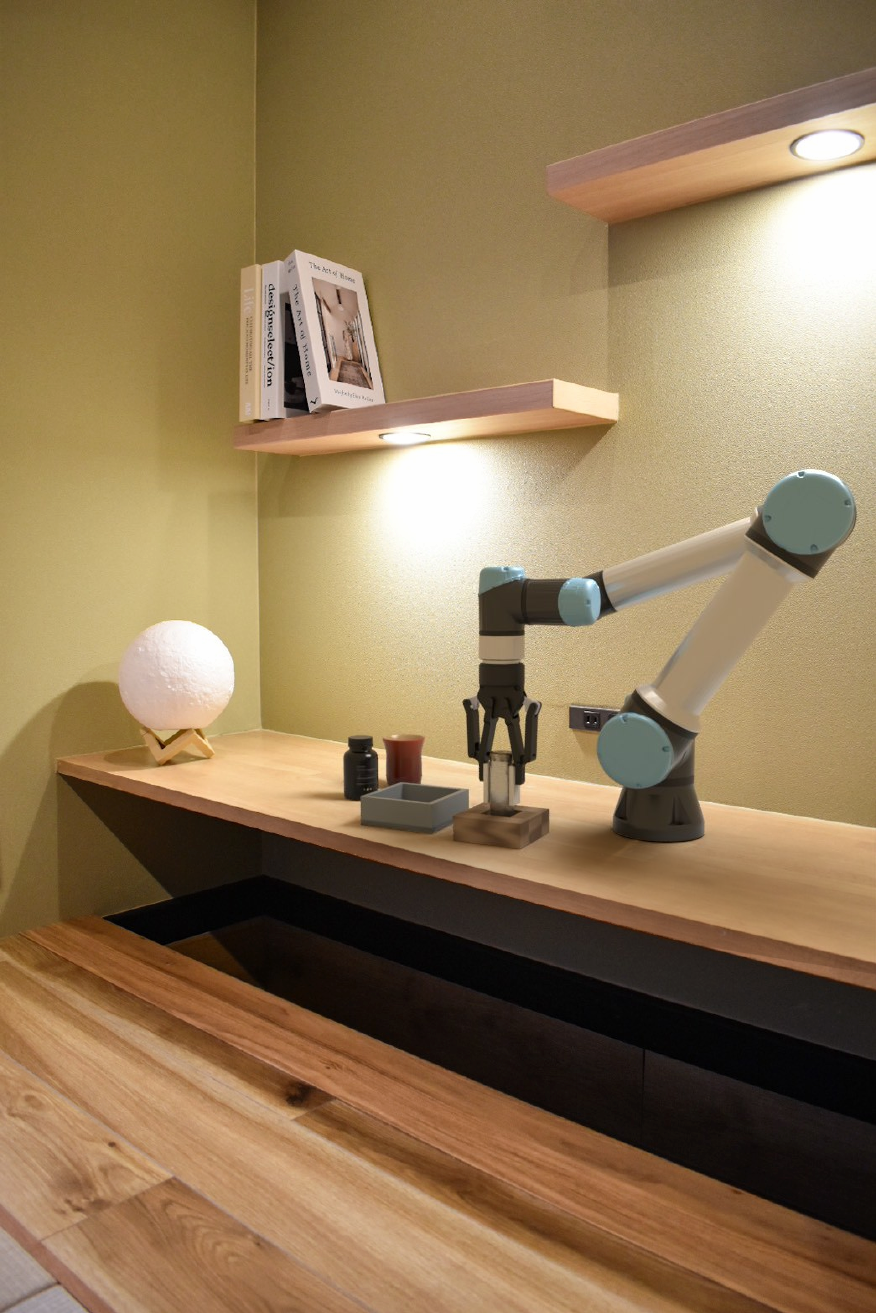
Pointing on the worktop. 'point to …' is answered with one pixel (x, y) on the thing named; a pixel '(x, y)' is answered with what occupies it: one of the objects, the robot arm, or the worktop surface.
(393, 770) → the mug
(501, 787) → the pin
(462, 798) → the tray
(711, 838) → the worktop surface
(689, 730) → the robot arm
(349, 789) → the supplement bottle
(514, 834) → the socket block
